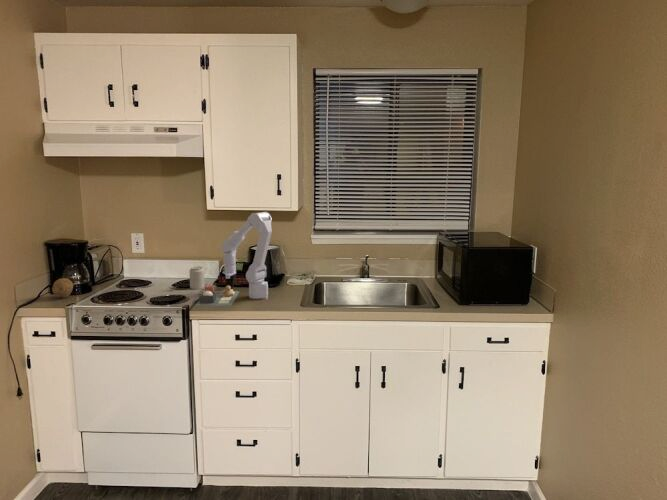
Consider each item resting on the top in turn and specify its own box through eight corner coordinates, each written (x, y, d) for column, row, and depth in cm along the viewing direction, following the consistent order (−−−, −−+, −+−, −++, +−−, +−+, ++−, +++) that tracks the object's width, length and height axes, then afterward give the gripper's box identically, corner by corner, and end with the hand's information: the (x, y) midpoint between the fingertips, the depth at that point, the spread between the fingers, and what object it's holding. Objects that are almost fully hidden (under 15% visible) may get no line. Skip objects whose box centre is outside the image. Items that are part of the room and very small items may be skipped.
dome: (214, 299, 230) (214, 289, 229) (212, 302, 225) (211, 292, 224) (204, 299, 230) (203, 289, 229) (201, 302, 225) (201, 292, 224)
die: (214, 292, 242) (214, 284, 242) (212, 294, 239) (212, 286, 238) (206, 292, 242) (206, 284, 241) (204, 294, 238) (204, 286, 238)
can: (190, 291, 248) (190, 269, 246) (189, 287, 255) (188, 266, 253) (205, 290, 251) (204, 268, 249) (203, 286, 258) (202, 265, 256)
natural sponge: (60, 301, 226) (59, 281, 224) (48, 299, 229) (46, 279, 228) (77, 296, 234) (76, 277, 232) (66, 294, 237) (64, 275, 236)
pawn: (233, 294, 240) (233, 284, 239) (232, 297, 235) (232, 286, 234) (224, 294, 240) (223, 284, 239) (222, 297, 235) (222, 286, 234)
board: (239, 293, 246) (239, 284, 245) (231, 307, 221) (230, 298, 220) (207, 292, 245) (206, 284, 245) (194, 307, 220) (194, 298, 219)
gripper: (224, 260, 249) (225, 285, 251) (219, 266, 235) (220, 292, 237) (238, 260, 249) (238, 285, 252) (233, 266, 235) (234, 292, 237)
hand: (230, 289), depth 244 cm, fingers closed
